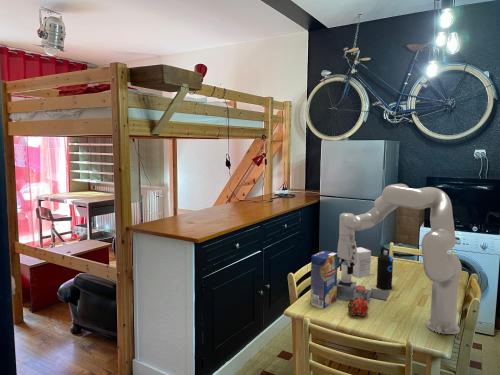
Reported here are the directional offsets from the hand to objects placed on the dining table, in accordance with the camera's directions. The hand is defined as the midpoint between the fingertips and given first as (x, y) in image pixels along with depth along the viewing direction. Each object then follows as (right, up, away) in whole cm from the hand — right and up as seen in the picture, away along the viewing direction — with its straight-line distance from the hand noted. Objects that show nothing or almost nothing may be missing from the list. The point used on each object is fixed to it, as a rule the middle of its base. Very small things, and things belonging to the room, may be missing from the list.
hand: (346, 271), depth 191 cm
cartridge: (0, -5, 0) cm, 5 cm away
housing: (+2, -12, -2) cm, 12 cm away
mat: (+16, -12, -1) cm, 20 cm away
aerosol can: (+23, -11, +9) cm, 27 cm away
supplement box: (+15, -8, +30) cm, 35 cm away
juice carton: (-14, -13, -10) cm, 21 cm away
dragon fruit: (0, -14, -22) cm, 26 cm away
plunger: (+5, -10, -8) cm, 14 cm away
